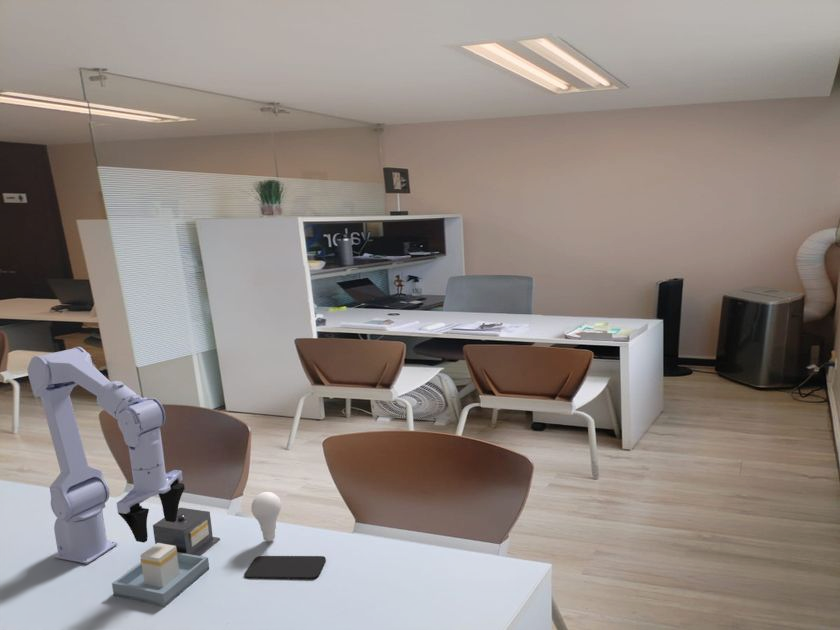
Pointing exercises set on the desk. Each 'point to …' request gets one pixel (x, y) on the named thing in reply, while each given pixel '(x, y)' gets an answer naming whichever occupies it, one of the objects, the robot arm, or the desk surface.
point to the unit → (187, 532)
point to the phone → (285, 567)
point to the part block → (160, 564)
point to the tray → (137, 590)
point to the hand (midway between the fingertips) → (156, 530)
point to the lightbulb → (266, 513)
